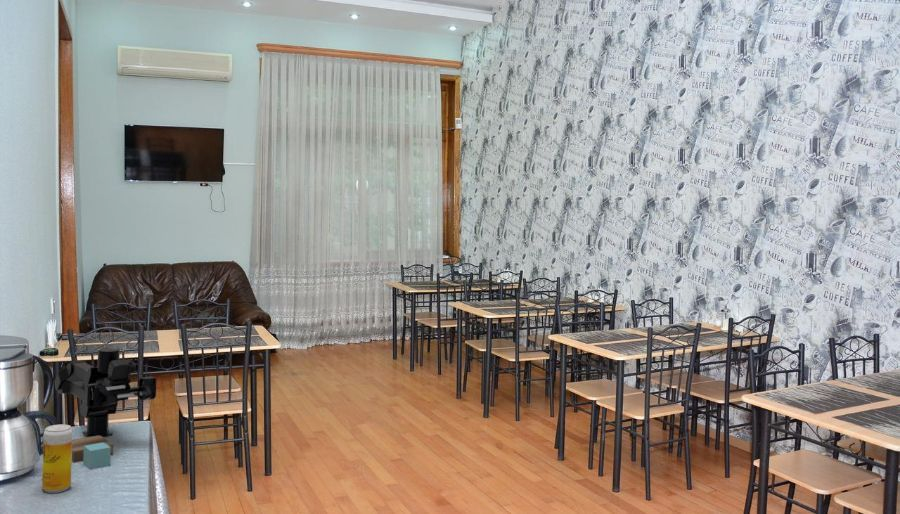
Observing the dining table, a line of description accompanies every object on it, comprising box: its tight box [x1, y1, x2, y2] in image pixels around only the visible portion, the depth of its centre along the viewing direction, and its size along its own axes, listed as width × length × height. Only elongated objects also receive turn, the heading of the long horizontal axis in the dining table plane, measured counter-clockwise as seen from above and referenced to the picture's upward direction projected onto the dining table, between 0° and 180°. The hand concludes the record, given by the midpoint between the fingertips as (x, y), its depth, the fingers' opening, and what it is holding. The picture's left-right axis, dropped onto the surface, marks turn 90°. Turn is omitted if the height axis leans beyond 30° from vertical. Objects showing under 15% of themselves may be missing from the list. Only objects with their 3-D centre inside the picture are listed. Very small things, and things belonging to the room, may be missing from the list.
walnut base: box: [72, 435, 114, 463], centre depth 195 cm, size 10×10×3 cm
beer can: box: [41, 424, 73, 494], centre depth 170 cm, size 6×6×15 cm
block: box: [82, 442, 111, 470], centre depth 187 cm, size 5×5×5 cm
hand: (133, 398), depth 193 cm, fingers open, 9 cm apart
